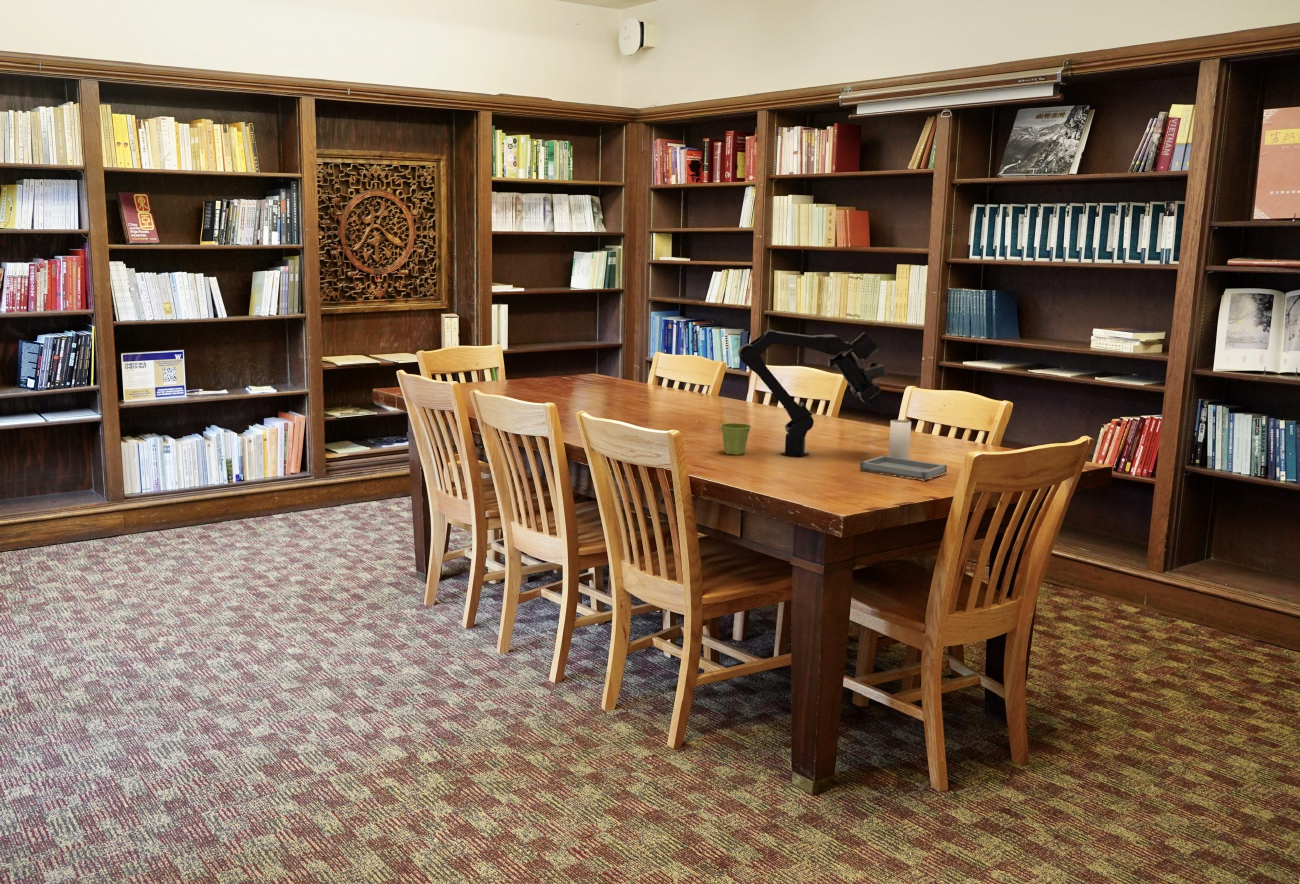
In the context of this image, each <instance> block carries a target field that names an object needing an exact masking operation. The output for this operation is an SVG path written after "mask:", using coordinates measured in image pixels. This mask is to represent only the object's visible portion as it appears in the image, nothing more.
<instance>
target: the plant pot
mask: <svg viewBox="0 0 1300 884" xmlns="http://www.w3.org/2000/svg"><path fill="white" fill-rule="evenodd" d="M719 427H720V429H721V433H722V439H723V450H724V454H725V453H728V454H727V455H732V454H742V455H744V454H743V453H746V448H747V441H748V438H749V437H748V436H749V433H750V429H751V428H752V425H750V424H747V423H735V422H732V423H731V422H729V423H728V422H727V423H722V424H720V425H719Z"/></svg>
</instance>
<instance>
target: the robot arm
mask: <svg viewBox="0 0 1300 884" xmlns="http://www.w3.org/2000/svg"><path fill="white" fill-rule="evenodd" d="M772 345H782V346H791V347H798V348H804V349H805V348H806V349H812V350H815V351H817V352H821V353H823V354H826V355H830V356H834V357H832V358H831V357H828V363H827V366H828V367H829V368H830V369H831V368H832V367H834V366H835V367H836V368H837V370H838V371H839V373H840V374H841V375H842V376H843V378H844V379H845V381H846V382H847V383H848V385H849V386H850V391H851V392H852V394H853V395H855V397H857V398H858V399H860V400H861V401H862V402H863V403H864V404H865V405H867V406H869V407H870V408H872V409H874V410H875V411H877V412H879V413H880V414H881V415H884V414H885V413H886V410H885V407H884V405H883V403H882V401H881V397H880V395H881V393H882V389H881V387H880V386H879V384H878V383H875V382H874V380H875V379H877V378H881V377H882V378H883V377H886V376H887V373H886V368H885V365H884V364H882V363H878V364H877V363H876V362H875V361H872V362H869V364H868V367H866V368H864V367H862V366H861V365H860V364H859V363H858V361H860V360H862V361H863V362H865V360H866V359H868V358H870V357H871V356H872V355H873V354H874V353H877V352H878V351H879V347H878V345H877V344H876V342H875V341H874V340H872V339H871V337H870V336H869V334H867V333H866V332H862V333H861V334H860V335H859V336H858V337H856V338H855V339H854V340H853V341H851V342H849V341H844V340H842V339H841V338H840V337H839V336H837V335H835V334H833V333H832V334H830V333H829V334H817V335H808V334H800V333H794V332H787V331H786V332H784V331H778V330H774V329H767V330H766V331H765V332H764V333H763V334H762V335H760V336H759V337H757V338H755V339H754V340H752V341H751V342H750V343H744V344H742V345H741V346H740V347H739V349H738V352H737V356H738V358H739V360H740V361H741V362H742V363H743V364H744V365H745V366H746V367H747V368H749V370H751V371H753V373H754V374H756V375H757V376H758V377H759V378H760V380H761V381H762V382H763V383H764V385H765V386H766V387H767V388H768V389H769V390H770V392H771V393H772V394H773V396H775V398H776V399H777V401H778V402H779V403H780V404H781V405H782V407H783V408H784V409H785V411H786V413H787V415H788V416H789V418H790V421H788V422H787V423H786V424H785V425H784V428H785V431H786V434H785V444H784V447H785V448H784V451H783V452H780V455H785V456H790V457H797V458H800V457H803V456H808V455H810V453H809V452H806V436H807V434H808V431H810V430H811V429H812V428H813V427H814V423H815V420H814V418H813V415H814V413H812V411H810V409H808V408H807V406H806V405H805V403H804V402H803V401H801V402H800V403H798V402H797V401H795V400H794V399H793V398H792V396H791V395H790V394H789V393H788V392H787V390H786V389H785V388H784V386H783V385H782V384H781V382H780V381H778V379H777V378H776V376H775V375H774V374H773V373H772V372H771V370H770V369H769V368H768V367H767V365H766V363H765V362H764V359H763V358H762V354H763V353H764V352H765V351H767V349H769V348H770V347H771V346H772ZM841 352H844V353H841ZM855 358H856V359H857V360H858V361H857V360H856V359H855Z"/></svg>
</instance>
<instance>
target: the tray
mask: <svg viewBox="0 0 1300 884" xmlns="http://www.w3.org/2000/svg"><path fill="white" fill-rule="evenodd" d="M860 470H863V471H862V472H864V471H870V472H875V473H874V474H876V473H883V474H889V475H896V476H903V477H911V478H917V479H924V480H926V479H928V478H931V477H934V476H937V475H940V474H943V473H945V472H946V473H947V470H948V465H945V464H940V463H939V464H938V463H933V462H928V461H927V462H926V461H919V460H913V459H909V460H908V459H901V458H895V457H889V456H888V455H881V456H877V457H873V458H869V459H867V460H863V461H860V464H859V471H860ZM870 472H869V473H870Z"/></svg>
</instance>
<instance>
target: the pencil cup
mask: <svg viewBox="0 0 1300 884" xmlns="http://www.w3.org/2000/svg"><path fill="white" fill-rule="evenodd" d="M911 429H912V420H911V421H910V420H905V419H892V420H890V424H889V437H888V438H889V440H888V441H889V442H888V451H887V452H888V453H887V454H888V455H887V456H889V457H895V458H901V459H908V460H910V449H911V448H910V446H911Z"/></svg>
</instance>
